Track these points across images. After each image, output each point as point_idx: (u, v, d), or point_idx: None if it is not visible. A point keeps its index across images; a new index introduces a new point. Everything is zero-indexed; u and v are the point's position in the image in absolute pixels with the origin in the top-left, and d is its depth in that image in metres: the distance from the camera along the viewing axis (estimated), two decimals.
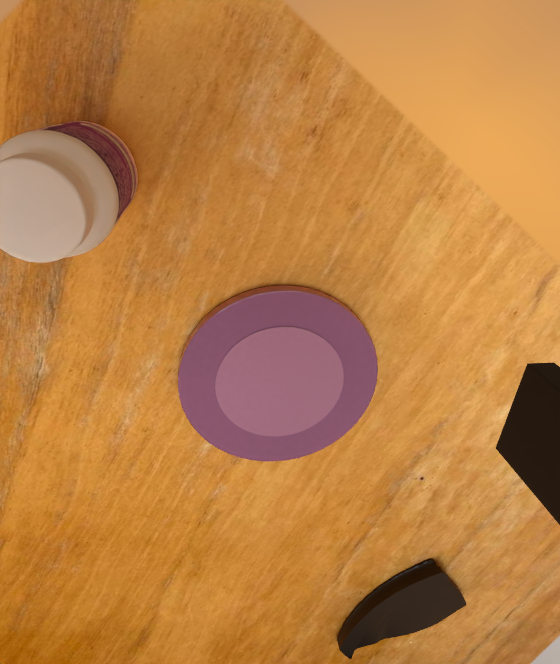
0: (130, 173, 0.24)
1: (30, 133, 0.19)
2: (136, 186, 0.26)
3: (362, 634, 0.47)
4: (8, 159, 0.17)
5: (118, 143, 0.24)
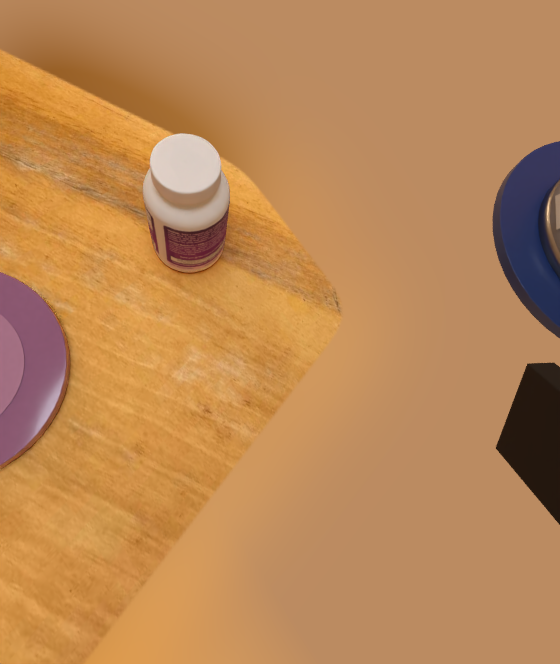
0: (190, 258, 0.33)
1: None
2: (177, 268, 0.34)
3: None
4: (220, 161, 0.27)
5: (210, 258, 0.34)
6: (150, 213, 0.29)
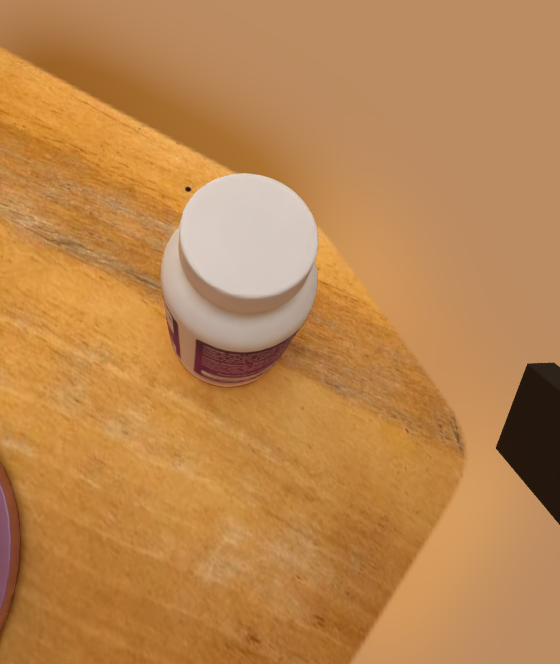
0: (234, 376, 0.19)
1: (316, 272, 0.16)
2: (208, 381, 0.21)
3: None
4: (316, 231, 0.14)
5: (265, 371, 0.20)
6: (173, 315, 0.15)
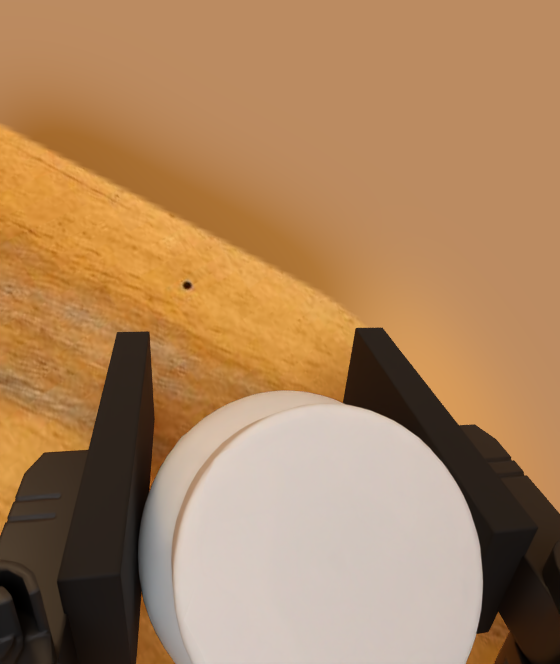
0: None
1: None
2: None
3: None
4: (474, 534, 0.06)
5: None
6: None
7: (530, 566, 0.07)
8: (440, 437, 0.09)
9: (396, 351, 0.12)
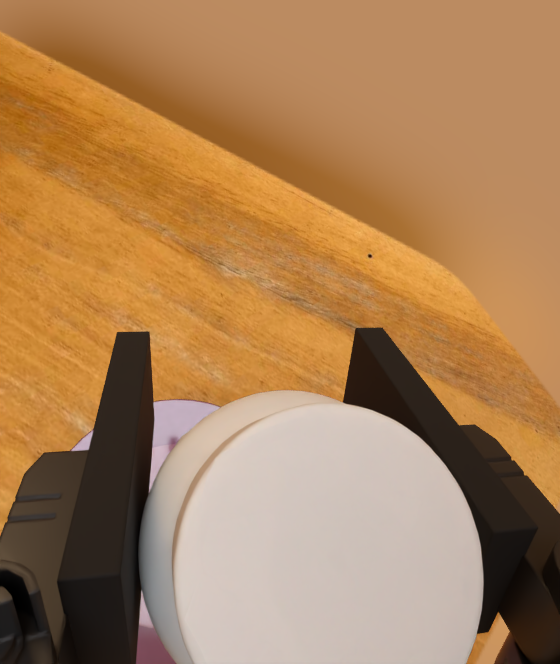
0: None
1: None
2: None
3: None
4: (474, 533, 0.06)
5: None
6: None
7: (530, 566, 0.07)
8: (440, 437, 0.09)
9: (396, 351, 0.12)
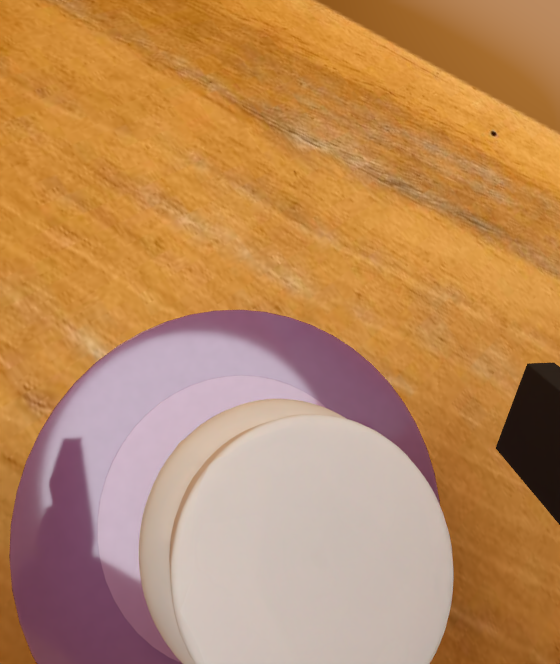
0: None
1: None
2: None
3: None
4: (446, 534, 0.07)
5: None
6: None
7: None
8: None
9: None
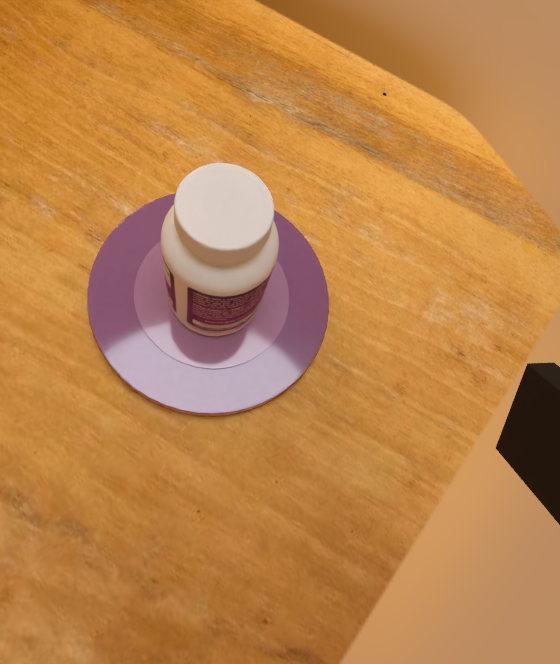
0: (218, 323, 0.24)
1: (278, 238, 0.22)
2: (199, 331, 0.26)
3: None
4: (273, 204, 0.19)
5: (243, 321, 0.26)
6: (170, 269, 0.21)
7: None
8: None
9: None
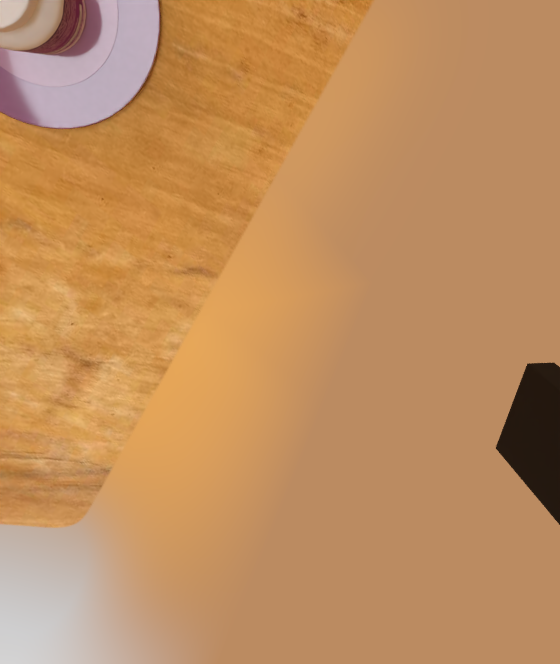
0: (49, 52, 0.27)
1: None
2: None
3: None
4: None
5: (73, 39, 0.28)
6: None
7: None
8: None
9: None
